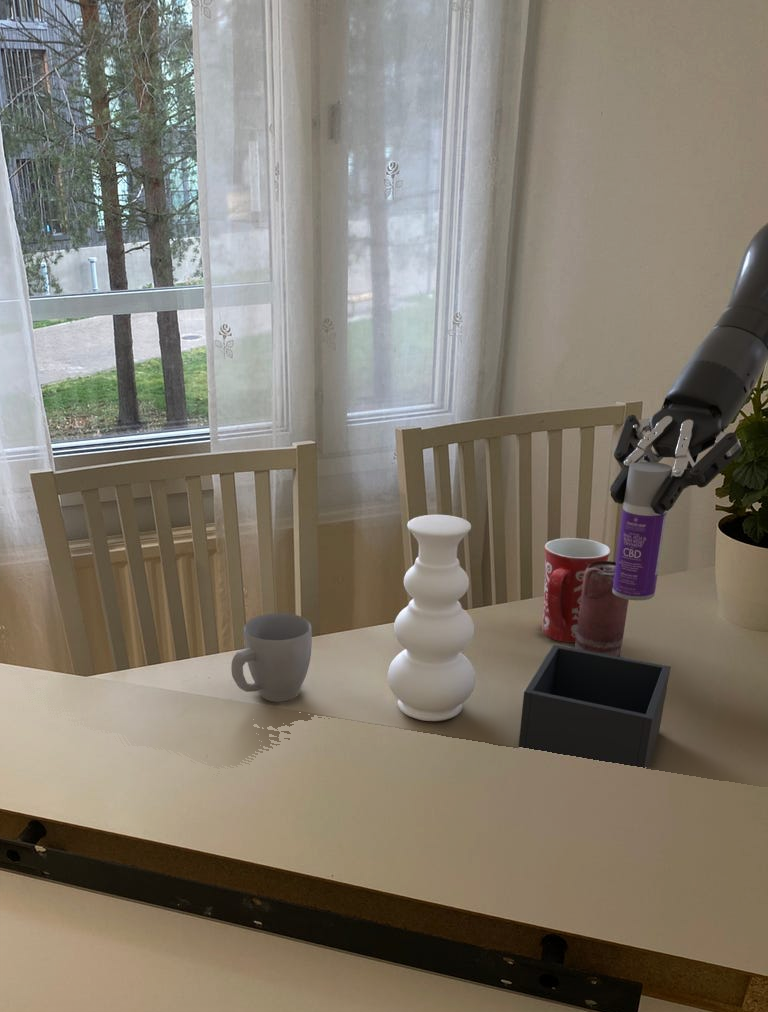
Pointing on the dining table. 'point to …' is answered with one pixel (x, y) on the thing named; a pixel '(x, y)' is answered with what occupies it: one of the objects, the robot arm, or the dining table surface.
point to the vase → (434, 625)
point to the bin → (594, 706)
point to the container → (640, 533)
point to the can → (600, 611)
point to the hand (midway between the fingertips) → (635, 504)
